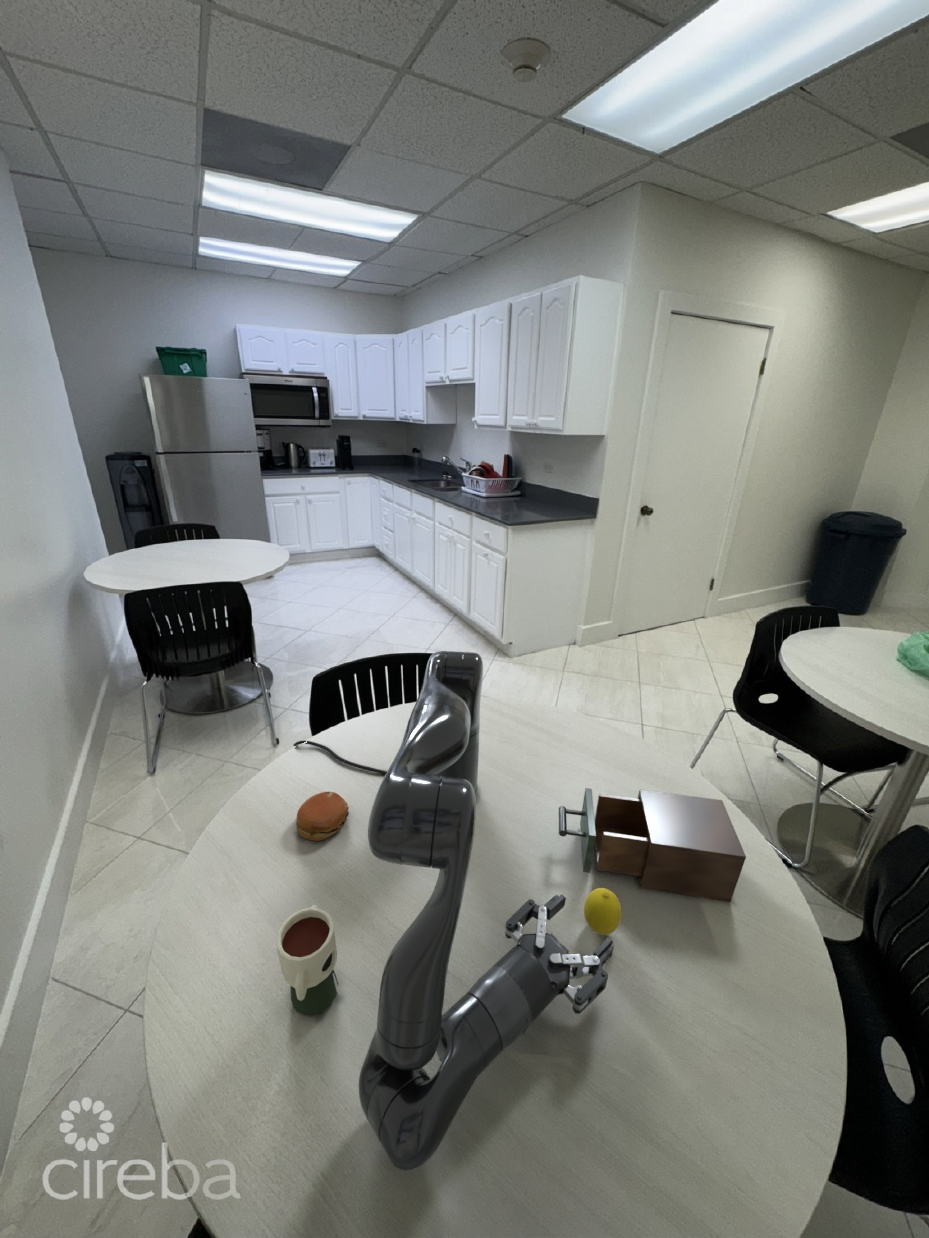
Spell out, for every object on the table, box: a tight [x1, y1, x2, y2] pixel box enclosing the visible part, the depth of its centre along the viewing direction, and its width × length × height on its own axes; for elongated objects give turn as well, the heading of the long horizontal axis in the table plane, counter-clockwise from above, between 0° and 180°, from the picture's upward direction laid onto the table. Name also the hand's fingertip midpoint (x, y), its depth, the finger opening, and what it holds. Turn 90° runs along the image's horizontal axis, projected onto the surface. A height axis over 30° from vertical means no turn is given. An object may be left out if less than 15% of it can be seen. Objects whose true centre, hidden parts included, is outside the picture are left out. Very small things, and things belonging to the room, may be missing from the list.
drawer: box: [558, 787, 650, 877], centre depth 89 cm, size 18×11×9 cm, turn 80°
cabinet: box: [637, 788, 747, 903], centre depth 87 cm, size 15×13×11 cm
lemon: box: [583, 887, 622, 936], centre depth 77 cm, size 6×6×8 cm
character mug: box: [276, 904, 339, 1017], centre depth 66 cm, size 11×7×13 cm, turn 5°
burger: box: [295, 791, 350, 842], centre depth 96 cm, size 10×9×5 cm
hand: (585, 920), depth 73 cm, fingers open, 8 cm apart
